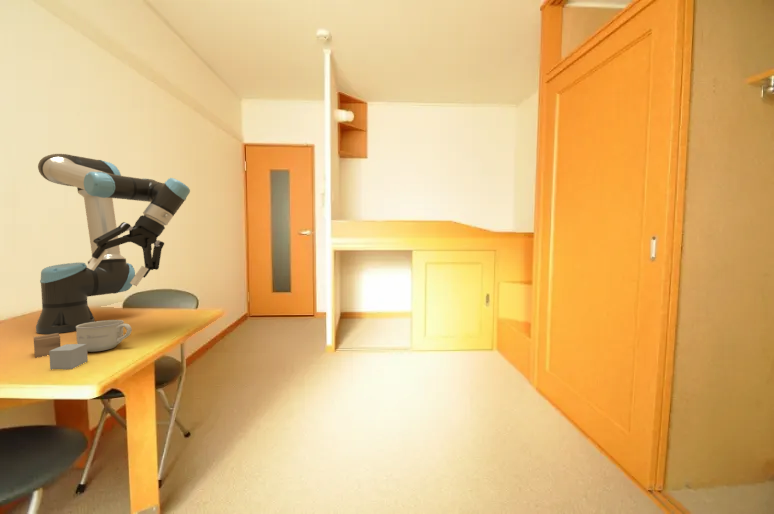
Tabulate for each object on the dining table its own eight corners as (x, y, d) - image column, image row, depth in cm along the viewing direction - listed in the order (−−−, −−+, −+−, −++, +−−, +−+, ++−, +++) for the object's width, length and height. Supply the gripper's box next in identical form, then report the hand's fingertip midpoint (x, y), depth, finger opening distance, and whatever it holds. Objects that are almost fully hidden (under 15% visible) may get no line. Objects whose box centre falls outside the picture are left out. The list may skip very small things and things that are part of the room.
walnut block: (34, 353, 93) (33, 336, 93) (59, 349, 97) (58, 332, 96) (35, 358, 90) (34, 340, 89) (60, 353, 94) (60, 336, 93)
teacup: (66, 353, 93) (65, 326, 93) (104, 341, 104) (103, 317, 103) (108, 357, 91) (107, 329, 91) (142, 344, 102) (141, 319, 101)
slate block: (50, 370, 82) (49, 350, 82) (67, 362, 87) (66, 344, 87) (72, 369, 83) (71, 350, 82) (87, 361, 88) (86, 343, 87)
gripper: (124, 201, 95) (75, 264, 89) (190, 240, 117) (155, 293, 111) (110, 196, 98) (61, 257, 92) (177, 235, 120) (142, 286, 114)
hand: (112, 277), depth 101 cm, fingers open, 13 cm apart
